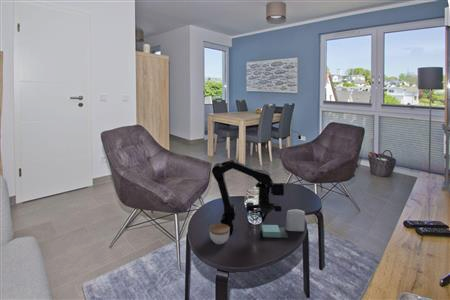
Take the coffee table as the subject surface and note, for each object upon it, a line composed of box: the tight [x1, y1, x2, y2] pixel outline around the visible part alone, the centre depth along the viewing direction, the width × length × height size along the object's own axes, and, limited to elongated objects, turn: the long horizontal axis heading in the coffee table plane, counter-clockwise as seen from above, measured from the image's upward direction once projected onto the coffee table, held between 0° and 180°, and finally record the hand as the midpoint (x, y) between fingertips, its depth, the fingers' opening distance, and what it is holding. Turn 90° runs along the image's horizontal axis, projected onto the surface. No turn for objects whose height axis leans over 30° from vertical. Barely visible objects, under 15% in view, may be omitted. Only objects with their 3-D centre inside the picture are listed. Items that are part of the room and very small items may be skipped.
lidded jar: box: [208, 222, 230, 245], centre depth 156 cm, size 11×11×9 cm
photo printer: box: [285, 209, 306, 232], centre depth 169 cm, size 10×4×12 cm, turn 86°
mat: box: [265, 226, 289, 239], centre depth 167 cm, size 12×11×1 cm
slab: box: [261, 224, 280, 238], centre depth 165 cm, size 3×8×9 cm
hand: (262, 221), depth 164 cm, fingers closed
